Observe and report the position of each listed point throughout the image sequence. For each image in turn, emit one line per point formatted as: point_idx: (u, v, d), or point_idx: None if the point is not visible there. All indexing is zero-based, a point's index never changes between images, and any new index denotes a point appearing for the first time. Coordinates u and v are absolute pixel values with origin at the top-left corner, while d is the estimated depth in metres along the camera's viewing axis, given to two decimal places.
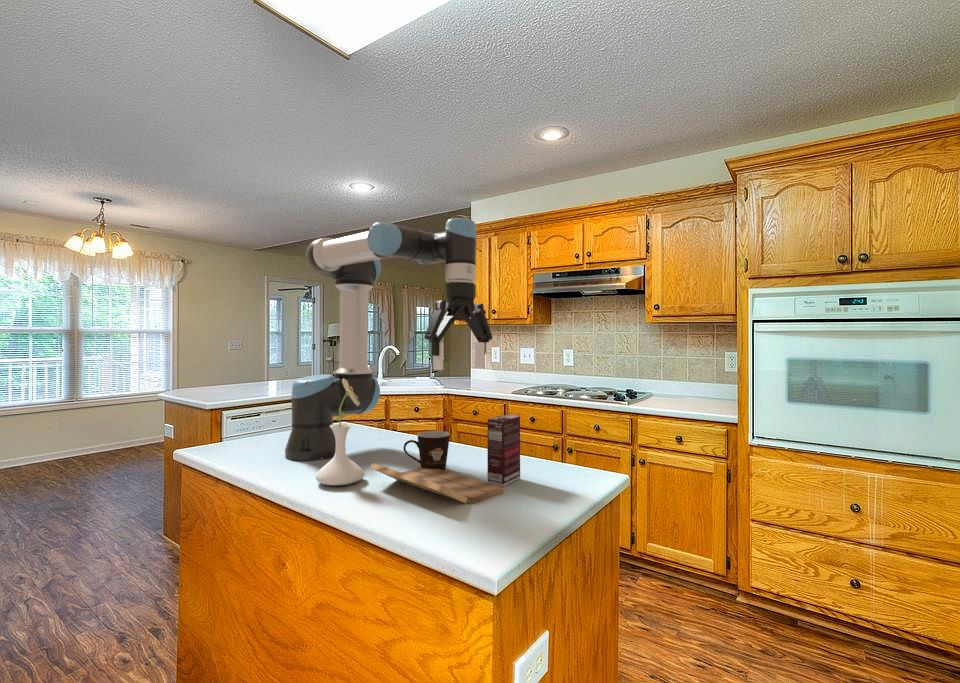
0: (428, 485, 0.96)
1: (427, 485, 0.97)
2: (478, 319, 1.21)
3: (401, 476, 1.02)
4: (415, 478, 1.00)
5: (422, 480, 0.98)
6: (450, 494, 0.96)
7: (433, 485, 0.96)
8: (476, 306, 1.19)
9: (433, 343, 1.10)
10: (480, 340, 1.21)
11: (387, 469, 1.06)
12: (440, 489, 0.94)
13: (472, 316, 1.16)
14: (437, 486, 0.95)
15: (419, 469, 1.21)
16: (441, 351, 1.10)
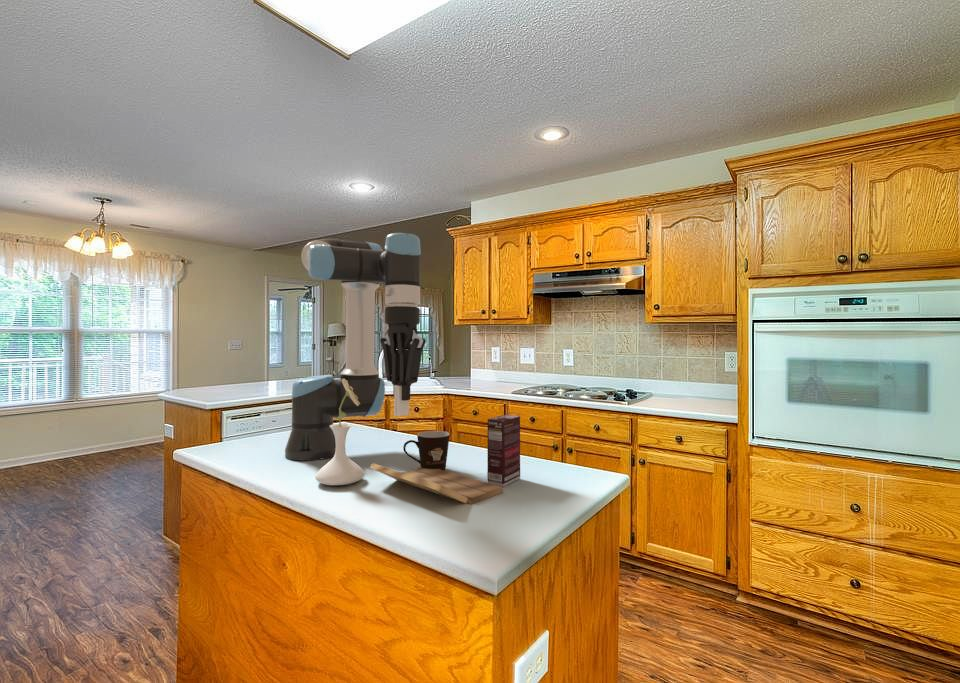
0: (428, 485, 0.96)
1: (427, 485, 0.97)
2: None
3: (401, 476, 1.02)
4: (415, 478, 1.00)
5: (422, 480, 0.98)
6: (450, 494, 0.96)
7: (433, 485, 0.96)
8: (414, 338, 0.98)
9: None
10: None
11: (387, 469, 1.06)
12: (440, 489, 0.94)
13: (399, 346, 1.00)
14: (437, 486, 0.95)
15: (419, 469, 1.21)
16: (394, 395, 1.01)
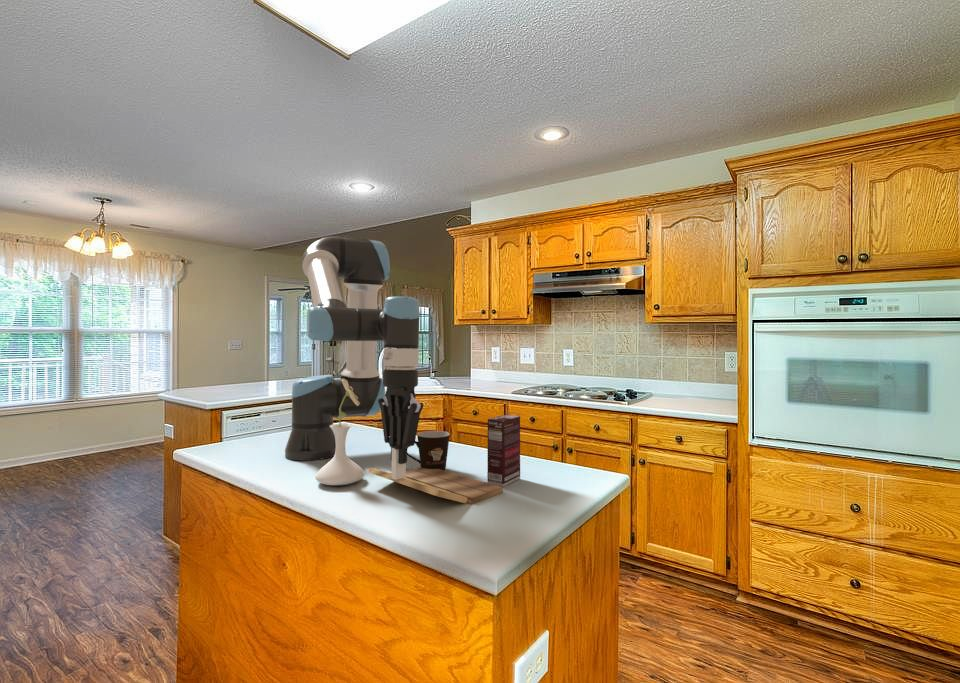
0: (426, 490, 0.96)
1: (425, 490, 0.96)
2: None
3: (399, 481, 1.02)
4: (413, 483, 0.99)
5: (420, 485, 0.98)
6: (449, 497, 0.96)
7: (431, 490, 0.95)
8: (412, 402, 0.98)
9: None
10: None
11: (385, 474, 1.06)
12: (438, 494, 0.94)
13: (396, 409, 1.00)
14: (435, 491, 0.94)
15: (419, 469, 1.21)
16: (391, 458, 1.01)
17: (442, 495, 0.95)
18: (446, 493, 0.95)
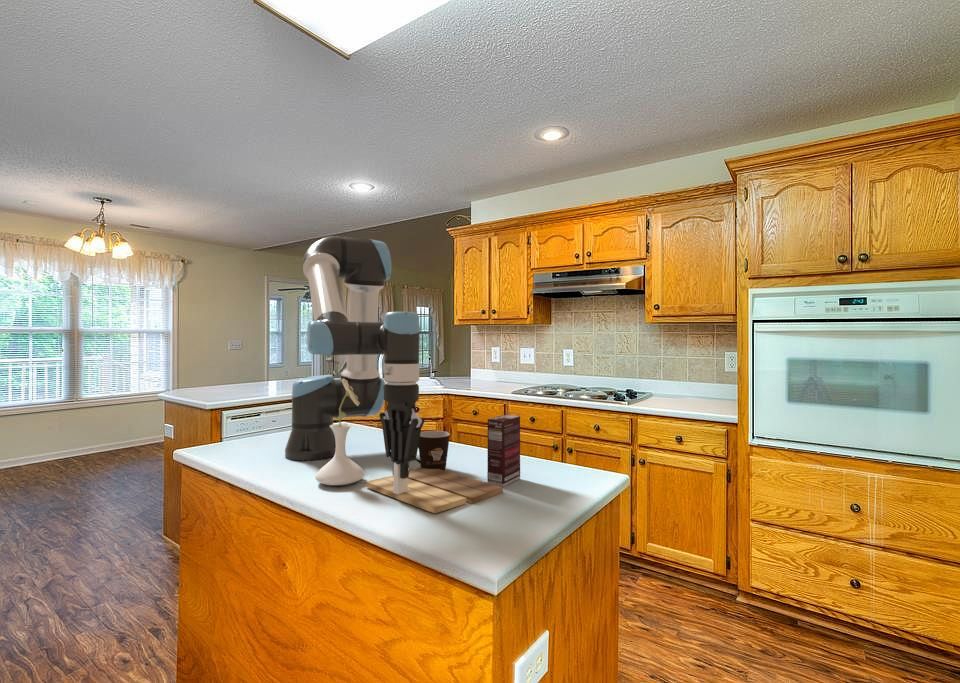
0: (423, 507, 0.95)
1: (422, 507, 0.96)
2: None
3: (396, 497, 1.01)
4: (409, 499, 0.98)
5: (416, 501, 0.97)
6: (447, 508, 0.96)
7: (427, 507, 0.95)
8: (413, 417, 0.98)
9: None
10: None
11: (381, 489, 1.05)
12: (435, 511, 0.93)
13: (397, 424, 1.00)
14: (431, 508, 0.94)
15: (419, 469, 1.21)
16: (393, 472, 1.01)
17: (439, 509, 0.94)
18: (443, 506, 0.95)
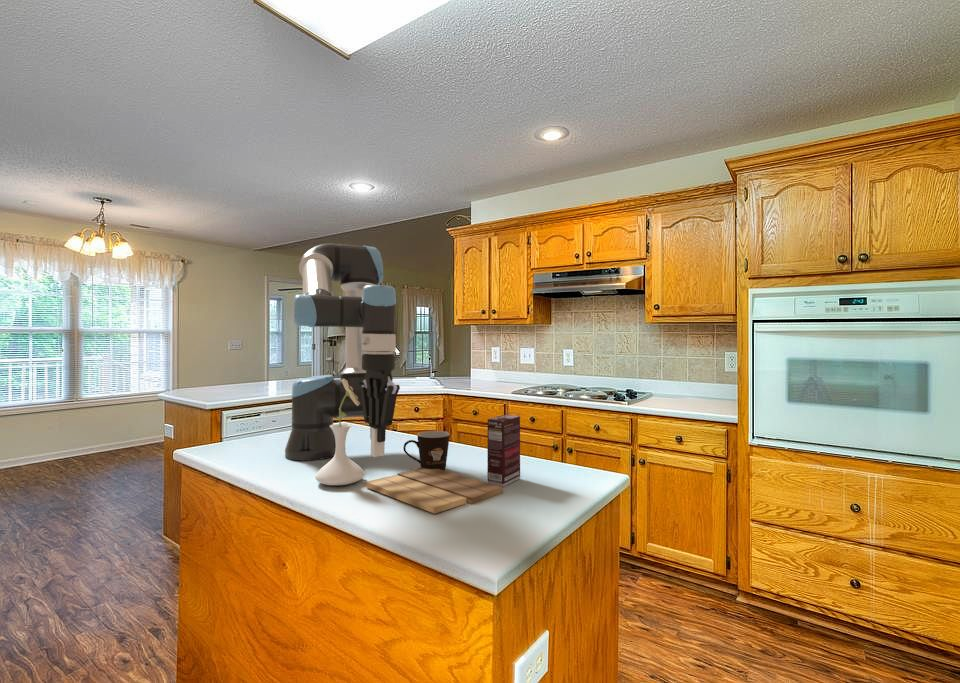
0: (423, 507, 0.95)
1: (422, 507, 0.96)
2: None
3: (396, 497, 1.01)
4: (409, 499, 0.98)
5: (416, 502, 0.97)
6: (447, 508, 0.96)
7: (427, 507, 0.95)
8: (389, 384, 1.04)
9: None
10: None
11: (381, 489, 1.05)
12: (435, 511, 0.93)
13: (374, 391, 1.06)
14: (431, 508, 0.94)
15: (419, 469, 1.21)
16: (371, 437, 1.07)
17: (439, 510, 0.94)
18: (443, 506, 0.95)
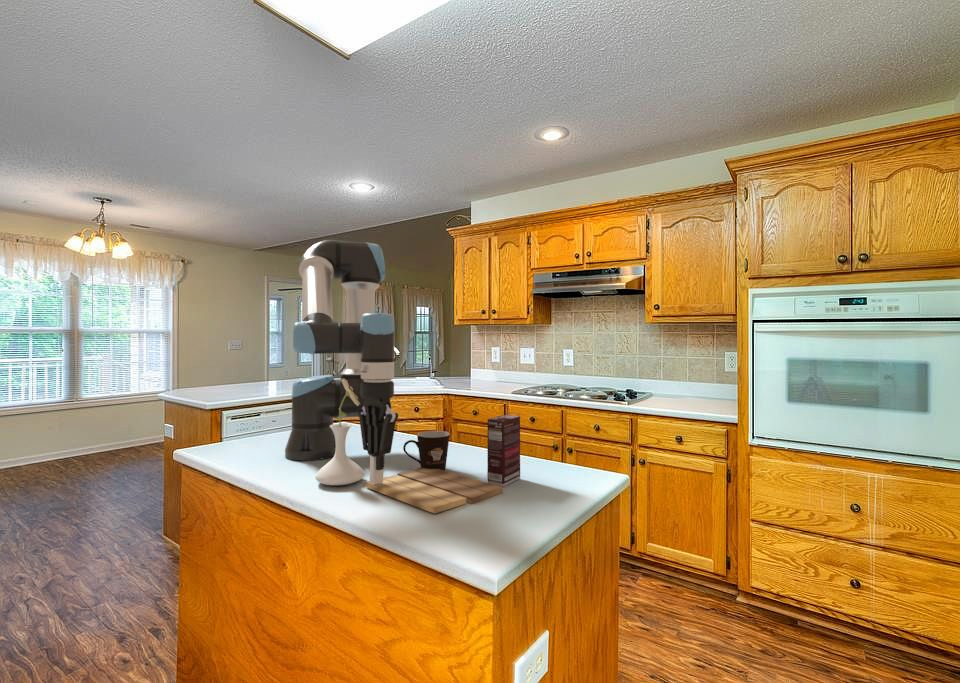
0: (423, 507, 0.95)
1: (422, 507, 0.96)
2: None
3: (396, 497, 1.01)
4: (409, 499, 0.98)
5: (416, 502, 0.97)
6: (447, 508, 0.96)
7: (427, 507, 0.95)
8: (387, 413, 1.04)
9: None
10: None
11: (381, 489, 1.05)
12: (435, 511, 0.93)
13: (373, 419, 1.06)
14: (431, 508, 0.94)
15: (419, 469, 1.21)
16: (370, 464, 1.07)
17: (439, 510, 0.94)
18: (443, 506, 0.95)
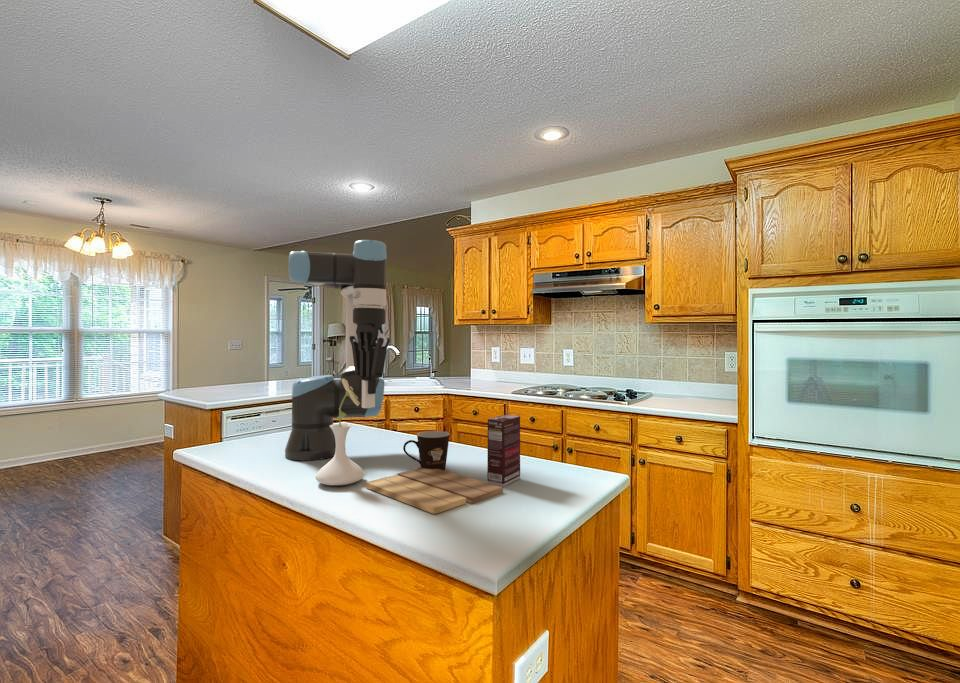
0: (423, 508, 0.95)
1: (422, 508, 0.96)
2: None
3: (396, 497, 1.01)
4: (409, 500, 0.98)
5: (416, 502, 0.97)
6: (447, 508, 0.96)
7: (427, 508, 0.95)
8: (379, 337, 1.07)
9: None
10: None
11: (381, 489, 1.05)
12: (435, 512, 0.93)
13: (365, 344, 1.09)
14: (431, 509, 0.94)
15: (419, 469, 1.21)
16: (362, 389, 1.10)
17: (439, 510, 0.94)
18: (443, 506, 0.95)
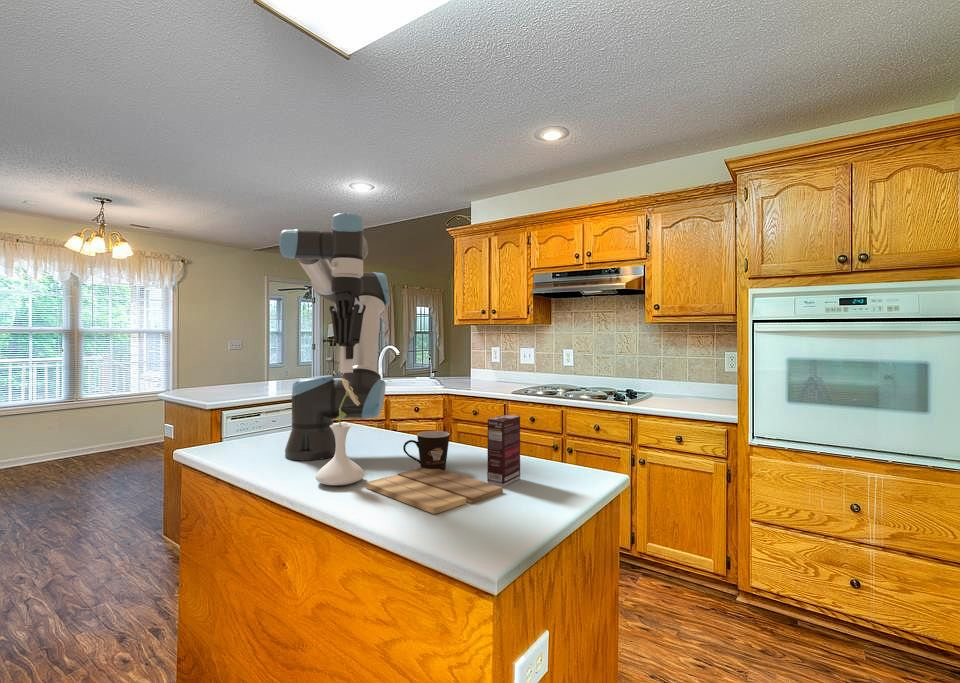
0: (423, 508, 0.95)
1: (422, 508, 0.96)
2: None
3: (396, 497, 1.01)
4: (409, 500, 0.98)
5: (416, 502, 0.97)
6: (447, 508, 0.96)
7: (427, 508, 0.95)
8: (356, 304, 1.13)
9: None
10: None
11: (381, 489, 1.05)
12: (435, 512, 0.93)
13: (343, 311, 1.15)
14: (431, 509, 0.94)
15: (419, 469, 1.21)
16: (340, 355, 1.16)
17: (439, 510, 0.94)
18: (443, 506, 0.95)
